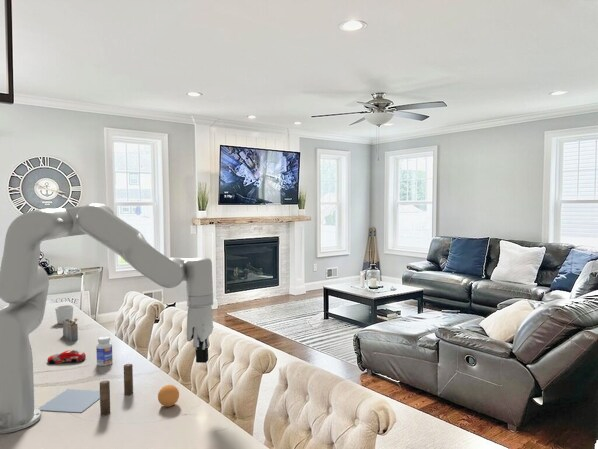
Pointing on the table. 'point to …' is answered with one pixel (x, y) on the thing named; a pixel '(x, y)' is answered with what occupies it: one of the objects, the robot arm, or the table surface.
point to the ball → (168, 395)
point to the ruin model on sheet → (70, 329)
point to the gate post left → (104, 398)
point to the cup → (64, 313)
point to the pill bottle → (104, 351)
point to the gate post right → (128, 379)
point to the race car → (67, 357)
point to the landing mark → (72, 401)
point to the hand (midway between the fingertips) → (202, 361)
